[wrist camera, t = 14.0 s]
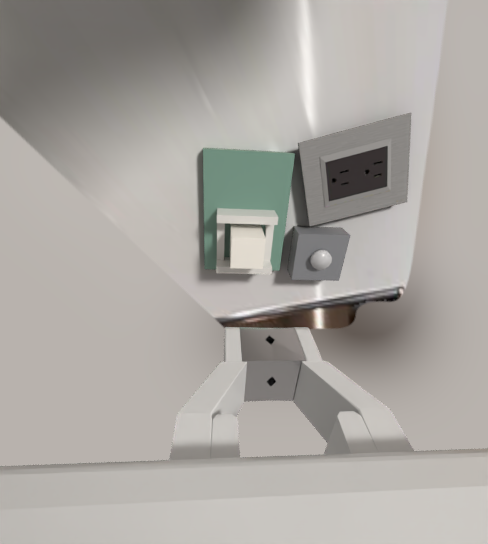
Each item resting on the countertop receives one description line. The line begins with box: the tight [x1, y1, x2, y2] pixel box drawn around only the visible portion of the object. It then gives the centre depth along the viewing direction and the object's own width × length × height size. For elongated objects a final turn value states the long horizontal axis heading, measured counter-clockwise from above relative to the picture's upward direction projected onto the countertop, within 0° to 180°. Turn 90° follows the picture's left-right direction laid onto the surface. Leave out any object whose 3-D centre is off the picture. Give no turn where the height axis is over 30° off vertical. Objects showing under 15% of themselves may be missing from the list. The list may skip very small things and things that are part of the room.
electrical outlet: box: [298, 113, 411, 226], centre depth 35 cm, size 13×10×2 cm
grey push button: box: [287, 226, 350, 281], centre depth 39 cm, size 7×7×4 cm
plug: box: [230, 224, 266, 269], centre depth 35 cm, size 5×4×5 cm
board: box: [203, 148, 295, 274], centre depth 36 cm, size 16×11×4 cm
